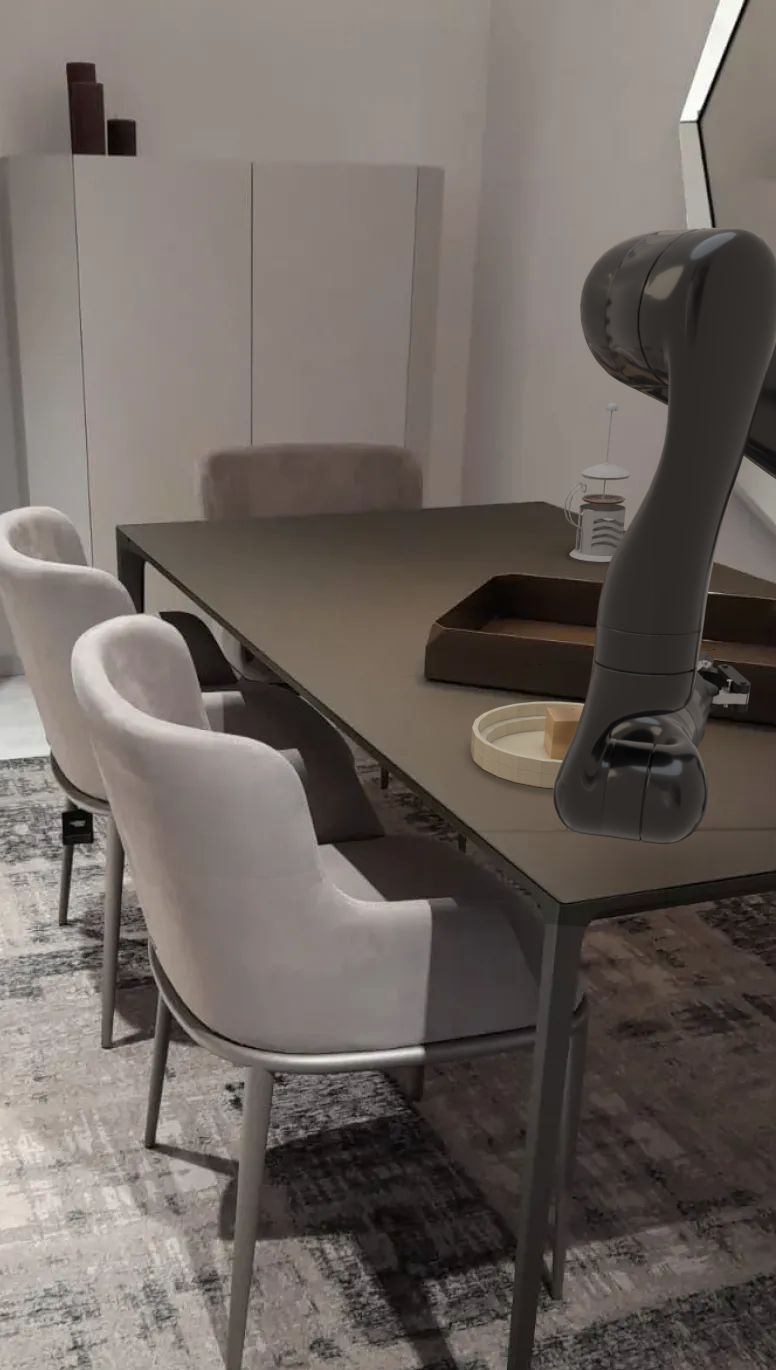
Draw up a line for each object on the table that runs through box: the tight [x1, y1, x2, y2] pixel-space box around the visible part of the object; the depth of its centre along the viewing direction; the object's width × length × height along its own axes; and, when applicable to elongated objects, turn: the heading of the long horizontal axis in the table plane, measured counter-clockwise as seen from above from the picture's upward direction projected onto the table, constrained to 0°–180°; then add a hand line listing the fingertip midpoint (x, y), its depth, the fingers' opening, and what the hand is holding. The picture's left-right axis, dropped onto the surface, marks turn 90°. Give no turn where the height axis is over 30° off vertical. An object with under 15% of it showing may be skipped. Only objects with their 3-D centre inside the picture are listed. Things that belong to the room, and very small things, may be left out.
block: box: [544, 707, 583, 760], centre depth 149 cm, size 4×4×4 cm
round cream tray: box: [470, 701, 584, 789], centre depth 149 cm, size 19×19×4 cm
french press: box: [563, 402, 631, 563], centre depth 231 cm, size 10×12×25 cm
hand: (679, 659), depth 125 cm, fingers closed on rook chess piece, 3 cm apart
